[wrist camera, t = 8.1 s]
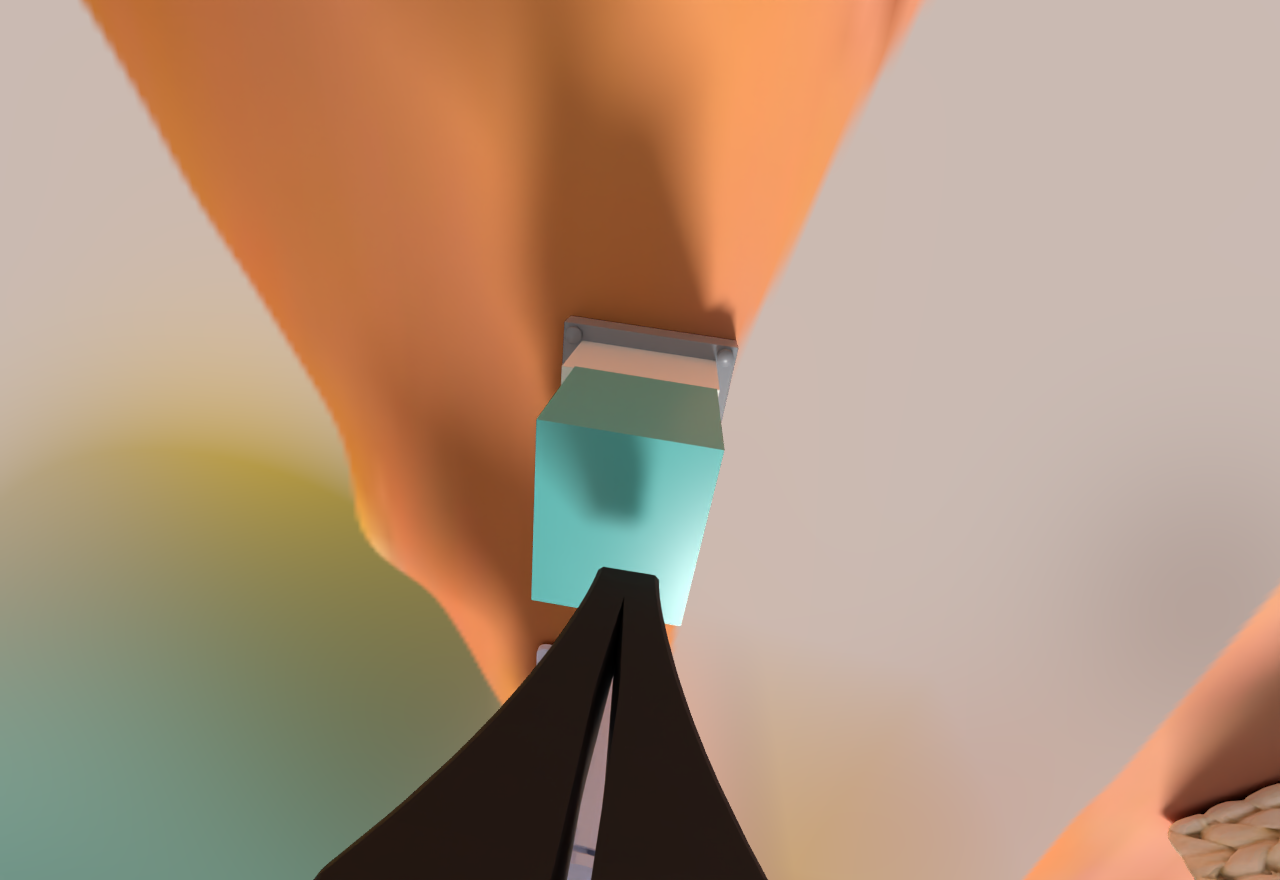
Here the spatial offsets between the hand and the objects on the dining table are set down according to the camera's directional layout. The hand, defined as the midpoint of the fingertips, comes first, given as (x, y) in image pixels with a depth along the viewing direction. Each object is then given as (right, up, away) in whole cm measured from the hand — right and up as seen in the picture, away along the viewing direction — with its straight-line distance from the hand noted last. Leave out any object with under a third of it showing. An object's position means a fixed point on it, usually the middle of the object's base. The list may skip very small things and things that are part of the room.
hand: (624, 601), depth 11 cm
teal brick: (0, +3, +5) cm, 6 cm away
